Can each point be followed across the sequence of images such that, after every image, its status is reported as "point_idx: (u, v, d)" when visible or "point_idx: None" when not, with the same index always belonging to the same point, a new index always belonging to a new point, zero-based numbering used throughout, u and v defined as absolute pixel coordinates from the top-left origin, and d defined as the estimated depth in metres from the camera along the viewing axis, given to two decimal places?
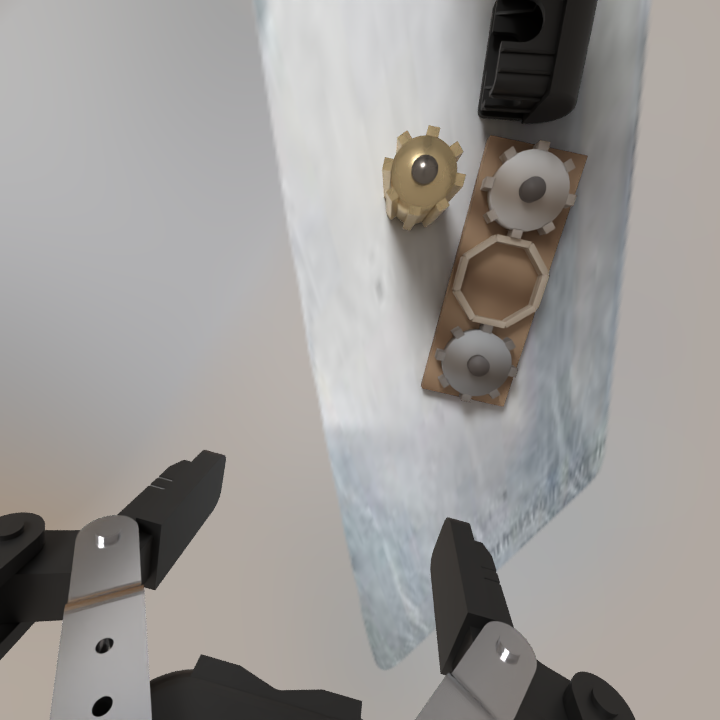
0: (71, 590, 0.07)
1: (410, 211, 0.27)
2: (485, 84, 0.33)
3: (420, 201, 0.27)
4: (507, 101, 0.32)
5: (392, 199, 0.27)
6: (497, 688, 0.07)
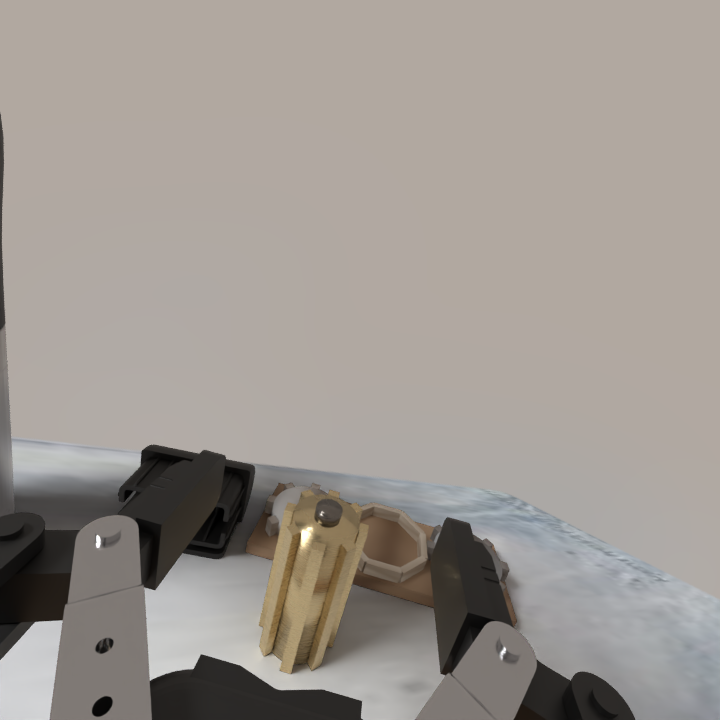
0: (71, 590, 0.07)
1: (365, 531, 0.25)
2: (200, 541, 0.32)
3: (354, 522, 0.25)
4: None
5: (354, 546, 0.23)
6: (497, 687, 0.07)
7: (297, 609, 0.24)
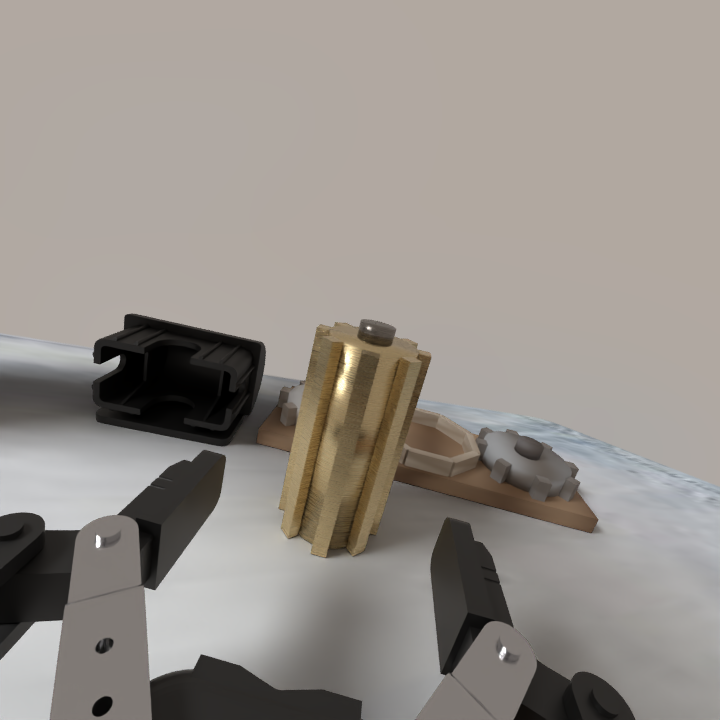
0: (71, 590, 0.07)
1: (427, 355, 0.18)
2: (199, 421, 0.25)
3: (411, 348, 0.19)
4: (236, 397, 0.27)
5: (418, 361, 0.17)
6: (497, 688, 0.07)
7: (338, 455, 0.17)
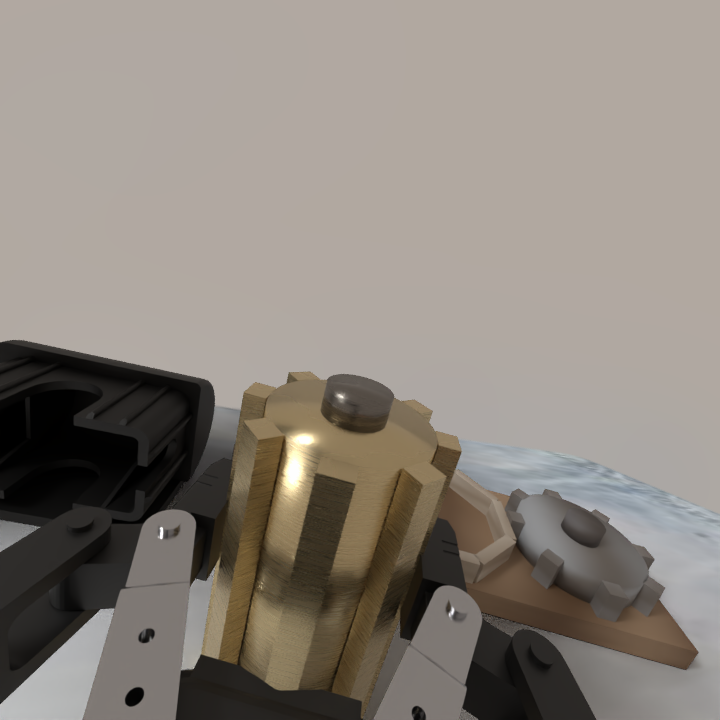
0: (130, 575, 0.08)
1: (454, 447, 0.10)
2: None
3: (422, 430, 0.10)
4: (159, 465, 0.18)
5: (439, 474, 0.08)
6: (451, 648, 0.08)
7: (276, 656, 0.09)
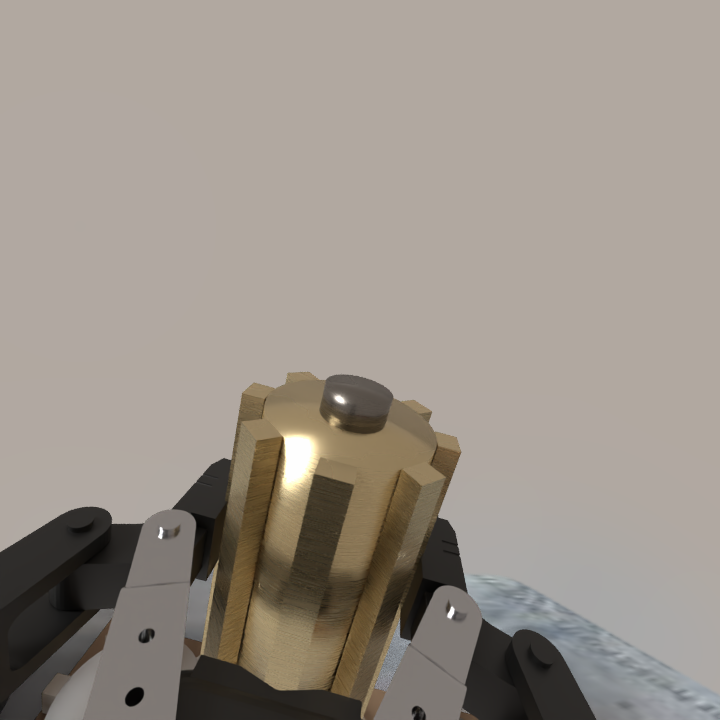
0: (130, 575, 0.08)
1: (453, 448, 0.09)
2: None
3: (422, 430, 0.10)
4: None
5: (438, 475, 0.08)
6: (451, 647, 0.08)
7: (275, 658, 0.09)
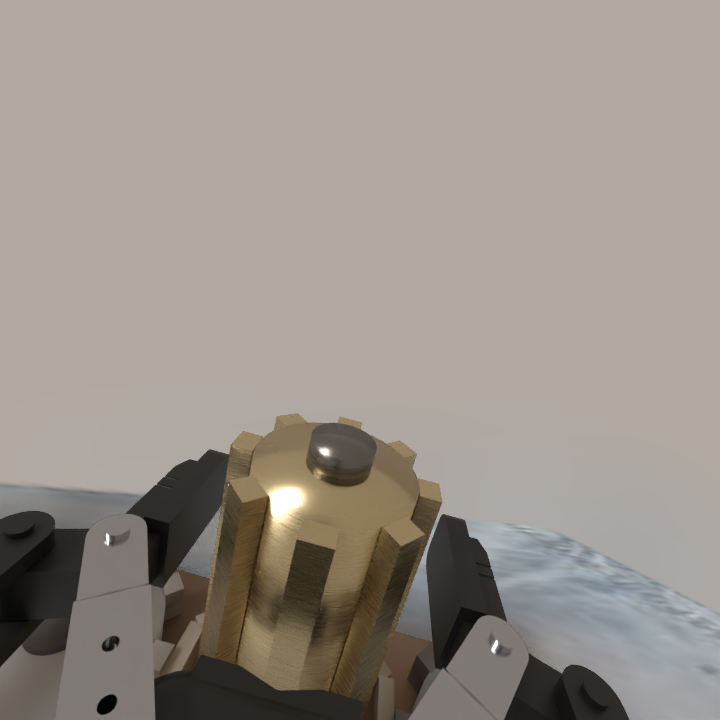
0: (80, 587, 0.07)
1: (435, 497, 0.10)
2: None
3: (405, 478, 0.10)
4: None
5: (418, 532, 0.08)
6: (490, 681, 0.07)
7: None
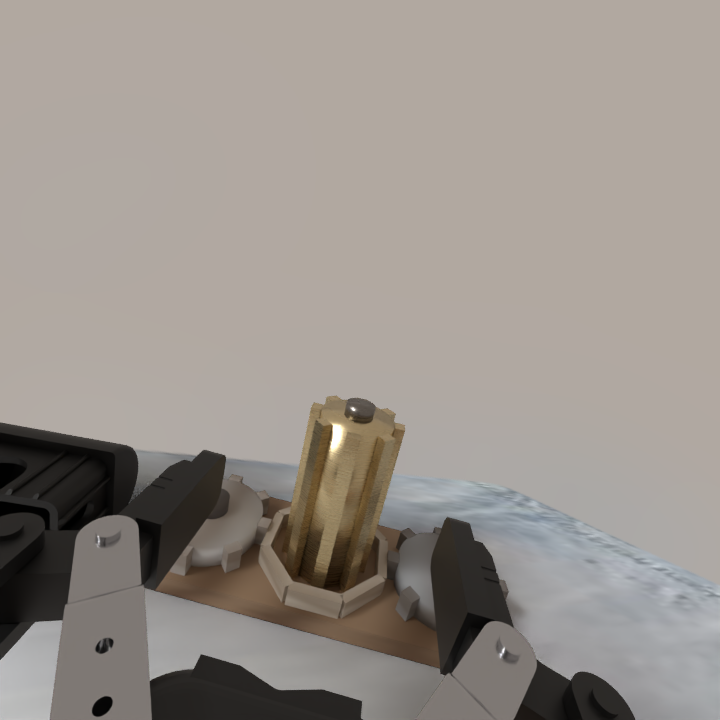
0: (71, 590, 0.07)
1: (401, 429, 0.22)
2: None
3: (389, 422, 0.23)
4: (76, 524, 0.22)
5: (392, 438, 0.21)
6: (497, 687, 0.07)
7: (329, 514, 0.21)
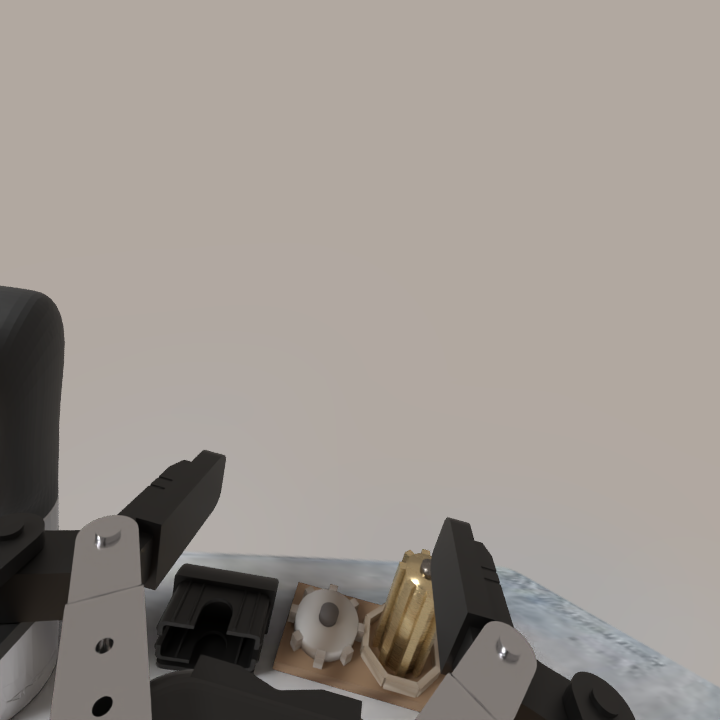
0: (71, 590, 0.07)
1: None
2: None
3: None
4: None
5: None
6: (497, 688, 0.07)
7: (412, 637, 0.35)
